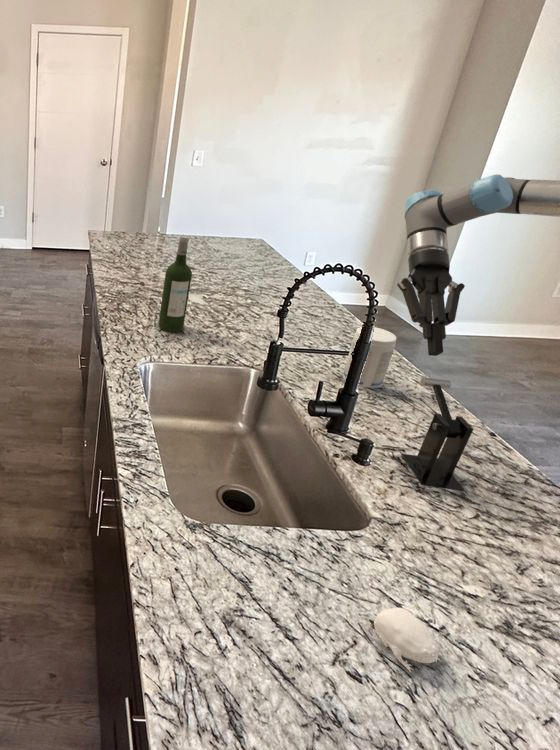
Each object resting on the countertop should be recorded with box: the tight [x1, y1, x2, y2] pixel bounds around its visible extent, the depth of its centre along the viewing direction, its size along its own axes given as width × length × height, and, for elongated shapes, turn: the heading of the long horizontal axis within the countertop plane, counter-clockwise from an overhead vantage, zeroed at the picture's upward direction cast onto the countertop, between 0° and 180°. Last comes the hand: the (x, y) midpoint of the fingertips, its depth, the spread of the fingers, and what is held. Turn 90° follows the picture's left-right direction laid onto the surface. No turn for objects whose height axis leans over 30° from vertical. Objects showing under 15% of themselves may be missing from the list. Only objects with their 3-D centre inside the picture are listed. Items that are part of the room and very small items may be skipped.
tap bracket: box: [400, 413, 474, 492], centre depth 109 cm, size 10×8×14 cm
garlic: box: [373, 607, 442, 673], centre depth 77 cm, size 8×7×4 cm
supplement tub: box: [342, 326, 398, 389], centre depth 143 cm, size 10×10×15 cm
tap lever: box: [420, 377, 462, 438], centre depth 110 cm, size 13×5×2 cm, turn 170°
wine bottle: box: [158, 235, 193, 333], centre depth 167 cm, size 8×8×30 cm
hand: (435, 353), depth 114 cm, fingers closed
